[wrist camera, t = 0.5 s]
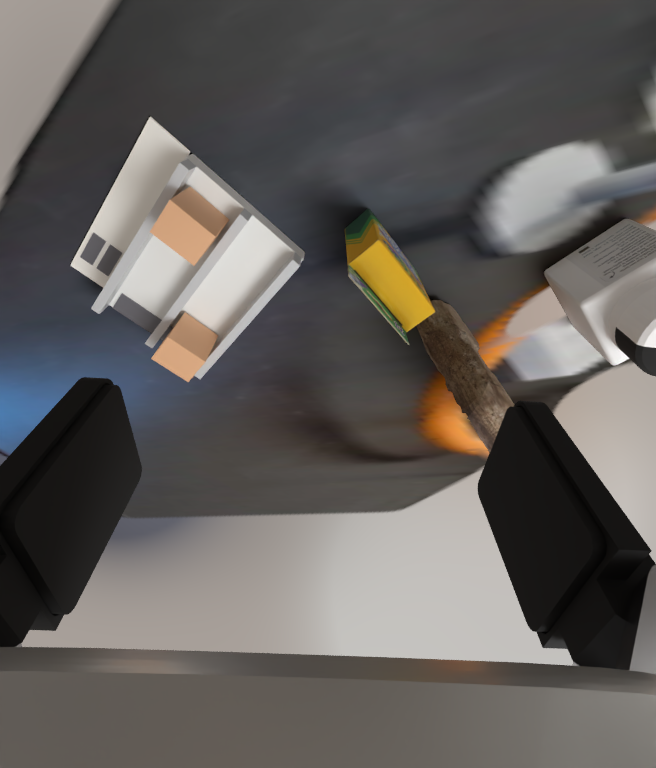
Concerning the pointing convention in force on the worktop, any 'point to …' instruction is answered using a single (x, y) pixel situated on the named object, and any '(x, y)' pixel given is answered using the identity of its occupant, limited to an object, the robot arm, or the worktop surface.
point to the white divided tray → (166, 267)
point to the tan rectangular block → (189, 225)
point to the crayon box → (385, 274)
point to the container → (612, 293)
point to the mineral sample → (465, 370)
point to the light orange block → (186, 347)
